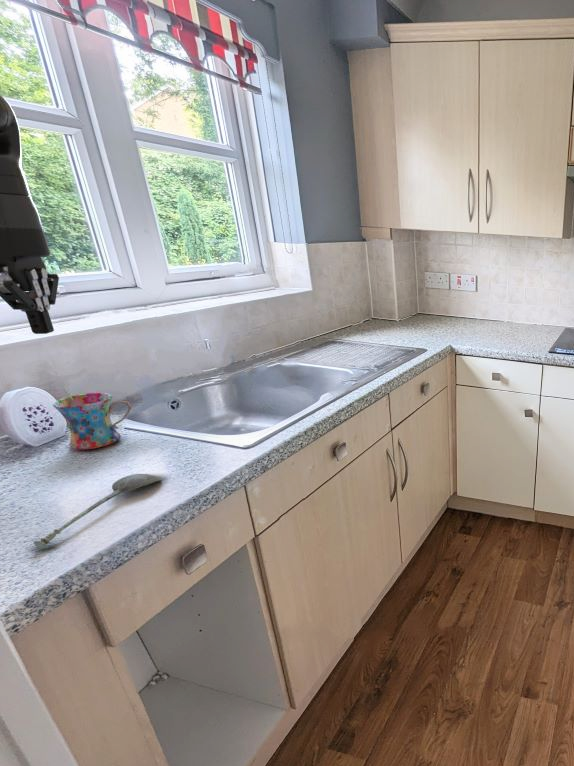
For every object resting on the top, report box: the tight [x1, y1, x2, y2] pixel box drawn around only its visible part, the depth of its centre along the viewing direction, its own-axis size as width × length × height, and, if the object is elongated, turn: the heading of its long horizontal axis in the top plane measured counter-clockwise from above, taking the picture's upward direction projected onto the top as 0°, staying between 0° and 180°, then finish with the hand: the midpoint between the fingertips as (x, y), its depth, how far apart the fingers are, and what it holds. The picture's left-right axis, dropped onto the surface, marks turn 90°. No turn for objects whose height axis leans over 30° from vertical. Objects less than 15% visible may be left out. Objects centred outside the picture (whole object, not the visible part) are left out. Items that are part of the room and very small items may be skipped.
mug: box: [52, 392, 132, 450], centre depth 101 cm, size 12×9×11 cm
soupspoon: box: [33, 473, 162, 550], centre depth 79 cm, size 22×3×7 cm
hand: (43, 332), depth 78 cm, fingers closed
